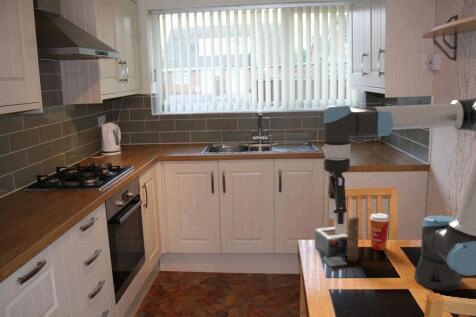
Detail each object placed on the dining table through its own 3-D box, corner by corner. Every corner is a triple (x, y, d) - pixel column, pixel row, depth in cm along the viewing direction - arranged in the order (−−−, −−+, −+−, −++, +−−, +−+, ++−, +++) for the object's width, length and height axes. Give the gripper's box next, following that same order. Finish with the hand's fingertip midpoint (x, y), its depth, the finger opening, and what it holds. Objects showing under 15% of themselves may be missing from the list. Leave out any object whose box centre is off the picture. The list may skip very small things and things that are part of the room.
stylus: (354, 256, 175) (355, 215, 171) (359, 260, 171) (360, 218, 168) (345, 257, 174) (346, 216, 170) (350, 261, 170) (351, 219, 167)
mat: (338, 257, 174) (338, 256, 174) (346, 264, 167) (346, 263, 167) (321, 259, 172) (322, 258, 172) (330, 267, 166) (330, 265, 165)
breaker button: (324, 242, 182) (324, 235, 181) (333, 241, 183) (333, 234, 182) (328, 246, 178) (329, 239, 177) (338, 245, 179) (339, 238, 178)
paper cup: (365, 245, 185) (366, 213, 183) (380, 243, 188) (382, 211, 185) (376, 252, 178) (377, 219, 175) (392, 250, 180) (393, 217, 178)
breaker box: (315, 246, 185) (315, 228, 184) (334, 244, 188) (334, 226, 186) (327, 257, 174) (328, 238, 172) (348, 255, 176) (348, 236, 175)
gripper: (319, 150, 143) (320, 213, 147) (329, 166, 119) (329, 240, 123) (343, 150, 142) (342, 212, 146) (357, 166, 118) (356, 240, 122)
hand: (336, 225), depth 134 cm, fingers open, 13 cm apart
